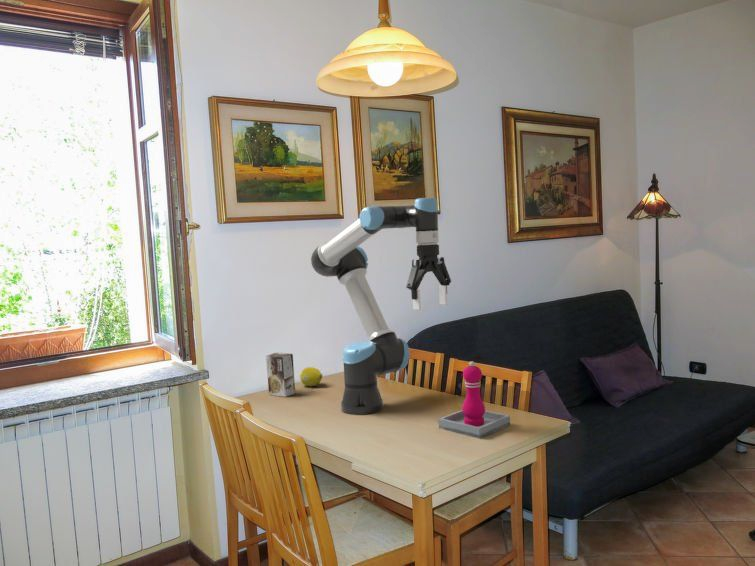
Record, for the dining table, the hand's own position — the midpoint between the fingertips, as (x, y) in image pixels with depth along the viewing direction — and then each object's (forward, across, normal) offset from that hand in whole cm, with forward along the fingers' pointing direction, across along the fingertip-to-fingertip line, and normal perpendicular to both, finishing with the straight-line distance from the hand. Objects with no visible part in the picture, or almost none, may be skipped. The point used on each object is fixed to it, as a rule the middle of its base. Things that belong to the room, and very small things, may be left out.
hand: (430, 306), depth 211 cm
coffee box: (+37, -18, +65) cm, 77 cm away
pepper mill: (+36, -4, -20) cm, 41 cm away
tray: (+37, -4, -20) cm, 42 cm away
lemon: (+37, -3, +65) cm, 75 cm away
